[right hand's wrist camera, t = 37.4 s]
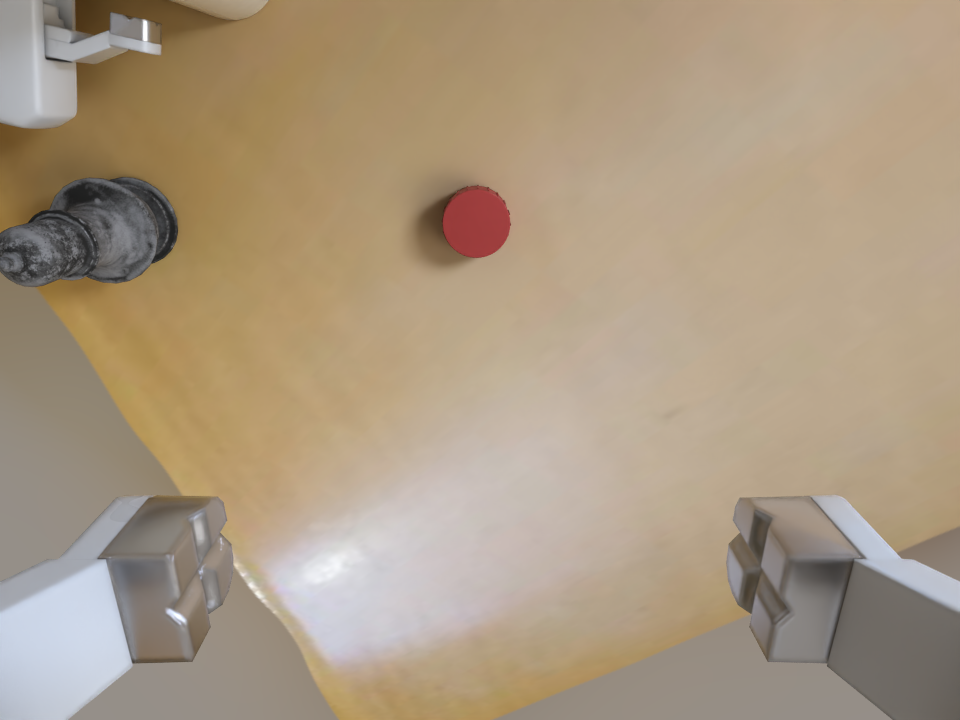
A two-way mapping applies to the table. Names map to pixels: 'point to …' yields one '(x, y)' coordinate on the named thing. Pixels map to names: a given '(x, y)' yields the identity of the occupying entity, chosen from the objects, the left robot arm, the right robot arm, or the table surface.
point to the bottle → (225, 7)
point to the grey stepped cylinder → (91, 234)
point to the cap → (476, 221)
